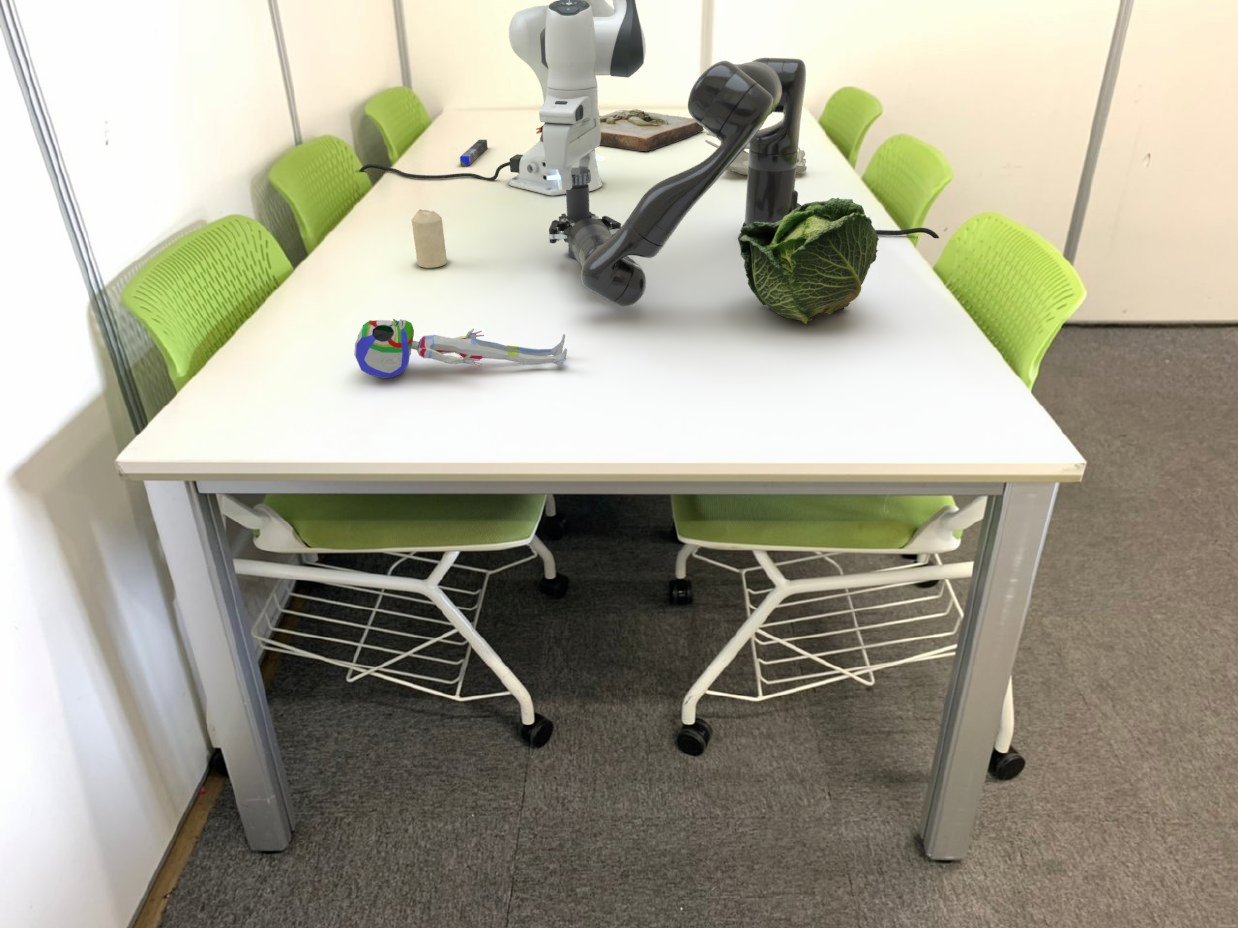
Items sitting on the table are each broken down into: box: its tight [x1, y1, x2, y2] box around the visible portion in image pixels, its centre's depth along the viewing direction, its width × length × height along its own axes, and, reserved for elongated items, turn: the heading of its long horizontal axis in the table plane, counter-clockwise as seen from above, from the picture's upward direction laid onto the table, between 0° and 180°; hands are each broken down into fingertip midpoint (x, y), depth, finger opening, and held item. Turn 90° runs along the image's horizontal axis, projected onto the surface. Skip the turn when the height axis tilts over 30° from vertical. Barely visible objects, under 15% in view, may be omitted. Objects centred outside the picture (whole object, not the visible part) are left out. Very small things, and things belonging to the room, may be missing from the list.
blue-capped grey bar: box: [459, 139, 488, 167], centre depth 240 cm, size 2×2×20 cm
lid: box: [571, 168, 591, 185], centre depth 165 cm, size 5×5×2 cm
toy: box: [353, 318, 568, 379], centre depth 130 cm, size 10×8×30 cm
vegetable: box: [737, 197, 879, 325], centre depth 143 cm, size 20×19×20 cm
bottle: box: [565, 184, 591, 260], centre depth 169 cm, size 4×4×15 cm
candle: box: [411, 209, 448, 269], centre depth 167 cm, size 6×6×10 cm
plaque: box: [599, 108, 705, 152], centre depth 257 cm, size 30×7×30 cm
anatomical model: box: [705, 131, 808, 176], centre depth 220 cm, size 15×9×25 cm
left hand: (576, 182), depth 166 cm, fingers open, 7 cm apart
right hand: (575, 217), depth 172 cm, fingers closed on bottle, 4 cm apart
